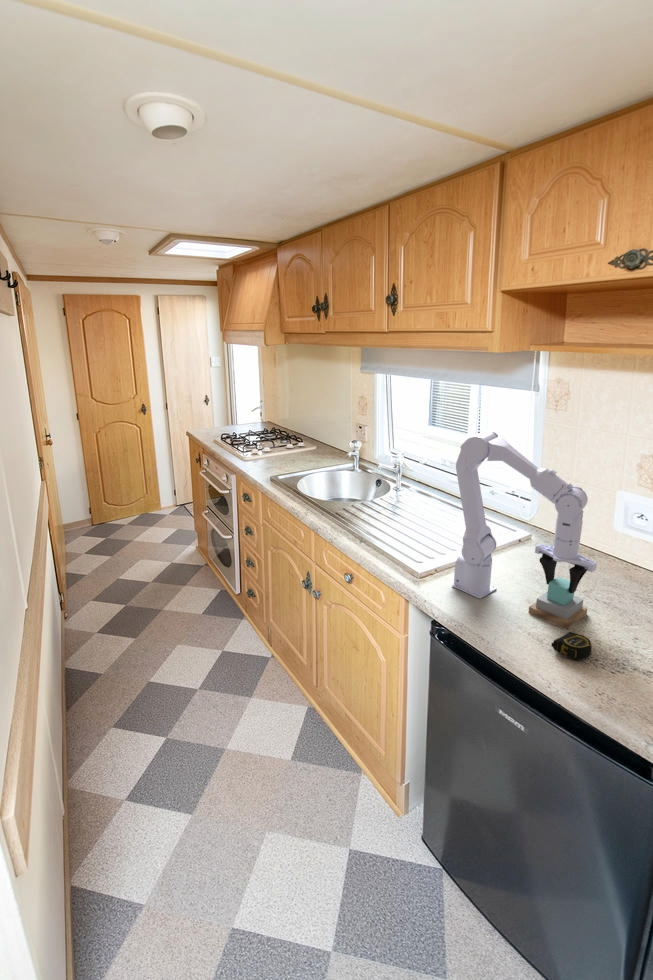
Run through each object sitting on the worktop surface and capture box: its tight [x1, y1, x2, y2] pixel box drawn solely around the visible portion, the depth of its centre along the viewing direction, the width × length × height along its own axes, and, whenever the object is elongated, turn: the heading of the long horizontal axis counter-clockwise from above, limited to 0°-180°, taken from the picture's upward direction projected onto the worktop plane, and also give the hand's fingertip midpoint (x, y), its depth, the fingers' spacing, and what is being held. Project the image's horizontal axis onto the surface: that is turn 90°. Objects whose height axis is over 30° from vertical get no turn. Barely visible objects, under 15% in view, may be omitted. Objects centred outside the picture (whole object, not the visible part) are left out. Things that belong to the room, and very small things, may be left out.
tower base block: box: [528, 602, 588, 630], centre depth 132 cm, size 10×10×2 cm
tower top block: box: [535, 591, 584, 620], centre depth 131 cm, size 8×8×2 cm
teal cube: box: [547, 576, 575, 605], centre depth 130 cm, size 4×4×4 cm
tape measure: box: [551, 631, 593, 661], centre depth 116 cm, size 7×7×4 cm
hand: (560, 587), depth 130 cm, fingers open, 5 cm apart
